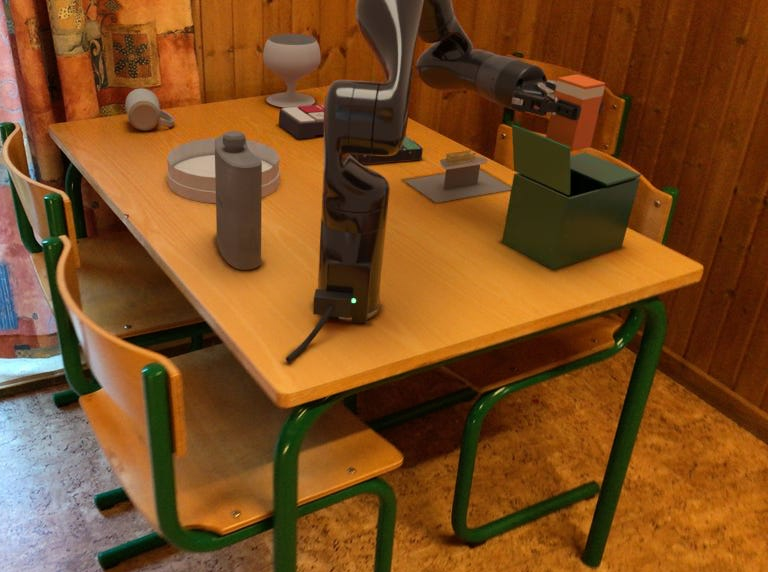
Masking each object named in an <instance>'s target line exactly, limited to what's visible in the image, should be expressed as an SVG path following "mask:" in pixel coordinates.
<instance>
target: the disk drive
mask: <svg viewBox="0 0 768 572" xmlns="http://www.w3.org/2000/svg"><path fill="white" fill-rule="evenodd" d="M423 150H424V148H423V147H422V146H420V145H419V143H417V142H416V141H415V140H413V139H412V138H410V137H409V136H408V135H407V133H406V134H405V138H404V142H403V144H402V147H401V149H400V150H399V151H398V152H397V153H396V154H395V155H392V156H374V155H362V154H351V153H350V154H351V156H352V157H353V158H354V159H355V160H357V161H358V162H359V163H360V164H362V165H373V164H384V163H393V162H394V163H395V162H396V163H397V162H409V161H418V160H422V159H423V152H424V151H423Z"/></svg>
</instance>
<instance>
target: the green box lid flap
mask: <svg viewBox="0 0 768 572" xmlns="http://www.w3.org/2000/svg"><path fill="white" fill-rule="evenodd" d="M511 134H512V136H511V137H512V138H511V139H512V154H513V155H512V156H513V171H514V172H516V173H520V174H523V175H525V176H527V177H529V178H531V179H534V180H536V181H538V182H540V183H543V184H545V185H547V186H549V187H551V188H554V189H556V190H558V191H560V192H562V193H565V194H567V195H570V156H571V151H570V147H569V146H566V145H564V144H561V143H559V142H556V141H554V140H551V139H549V138H546V136H543V135H541V134H539V133H536V132H534V131H531V130H529V129H526V128H524V127H521V126H519V125H516V124H512V125H511Z"/></svg>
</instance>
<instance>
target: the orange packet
mask: <svg viewBox="0 0 768 572" xmlns="http://www.w3.org/2000/svg"><path fill="white" fill-rule="evenodd" d="M556 81H557V85H556V91H555V96H556V97H559V98H561V99H560V100H566V101H569V102H571V103H574V104H577V105H580V106H581V113H580V118H579V119H578V120H571V119H569V118H566V117H563V116H560V115H558V114H557V115H551V114H549V115H550V116H549V121H548V126H547V131H546V135H545V137H546V138H549V139H551V140H554V141H556V142H559V143H561V144H564V145H566V146H569V147H570V152H576V151H581V150H584V149H587V148H591V147H592V143H593V139H594V133H595V129H596V126H597V121H598V118H599V117H598V116H599V115H598V113H599V108H600V104H601V101H603V100H602V99H603V96H604V92H605V88H606V82H603V81H600V80H597V79H595V78H591V77H588V76H585V75H581V74H579V73H577V74H571V75H566V76H565V75H564V76H559V77H557V80H556Z"/></svg>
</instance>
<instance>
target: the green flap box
mask: <svg viewBox="0 0 768 572" xmlns="http://www.w3.org/2000/svg"><path fill="white" fill-rule="evenodd" d="M641 175H642V174H641V173H638V172H636V171H633V170H631V169H628V168H626V167H623V166H621V165H618V164H615V163H613V162H611V161H608V160H606V159H603V158H601V157H598V156H595V155H593V154H591V153H588V152H581V153H578V154H572V155H570V195H567V194H565V193H562V192H560V191H558V190H556V189H554V188H551V187H549V186H547V185H545V184H543V183H540V182H538V181H536V180H534V179H531V178H529V177H527V176H525V175H523V174H520V173H518V172H516V173H514V174H513V177H512V183H511V188H512V189H511V190H510V195H509V200H508V206H507V211H506V216H505V223H504V227H503V233H502V238H501V243H502V244H504V245H506V246H507V247H510V248H511V249H514V251H517V252H519V253H521V254H523V255H525V256H526V257H528V258H530V259H532V260H533V261H535V262H537V263H539V264H541V265H543V266H544V267H546V268H548V269H551V270H552V271H554V270H558V269H560V268H564V267H567V266H570V265H573V264H576V263H579V262H582V261H585V260H588V259H592V258H594V257H597V256H601V255H603V254H607V253H610V252H612V251H615V250H619V249H623V244H624V241H625V237H626V233H627V230H628V226H629V222H630V218H631V216H632V215H631V214H632V211H633V207H634V203H635V200H636V197H637V193H638V190H639V185H640V182H641V179H640V177H641Z"/></svg>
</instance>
